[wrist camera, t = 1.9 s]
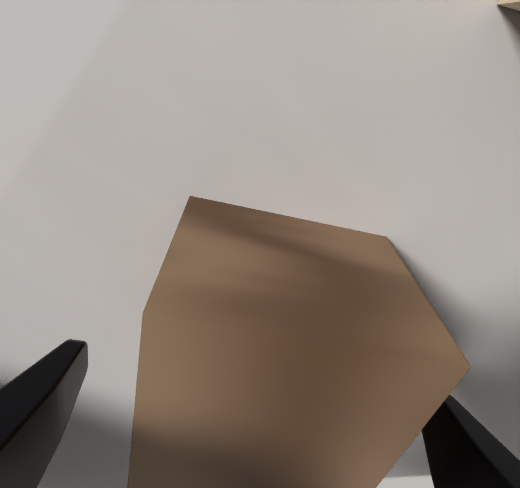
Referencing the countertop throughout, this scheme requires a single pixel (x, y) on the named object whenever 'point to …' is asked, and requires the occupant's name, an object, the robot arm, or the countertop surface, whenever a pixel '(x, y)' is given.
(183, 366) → the walnut block
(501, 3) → the base block
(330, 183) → the countertop surface
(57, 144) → the countertop surface
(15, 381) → the robot arm
